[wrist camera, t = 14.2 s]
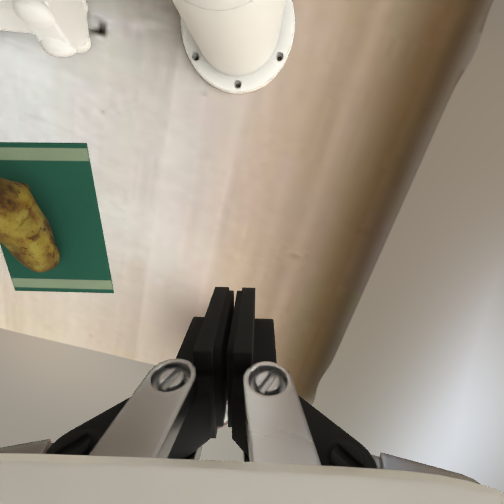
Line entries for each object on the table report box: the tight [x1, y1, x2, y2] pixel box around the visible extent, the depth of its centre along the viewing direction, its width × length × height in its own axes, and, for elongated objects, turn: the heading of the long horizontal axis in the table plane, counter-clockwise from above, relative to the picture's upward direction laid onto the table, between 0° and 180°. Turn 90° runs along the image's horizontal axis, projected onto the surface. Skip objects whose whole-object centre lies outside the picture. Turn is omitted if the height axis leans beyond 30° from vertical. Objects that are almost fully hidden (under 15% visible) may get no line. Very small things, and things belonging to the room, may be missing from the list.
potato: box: [0, 178, 60, 273], centre depth 35 cm, size 8×13×8 cm, turn 165°
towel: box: [0, 142, 114, 293], centre depth 39 cm, size 22×16×1 cm
